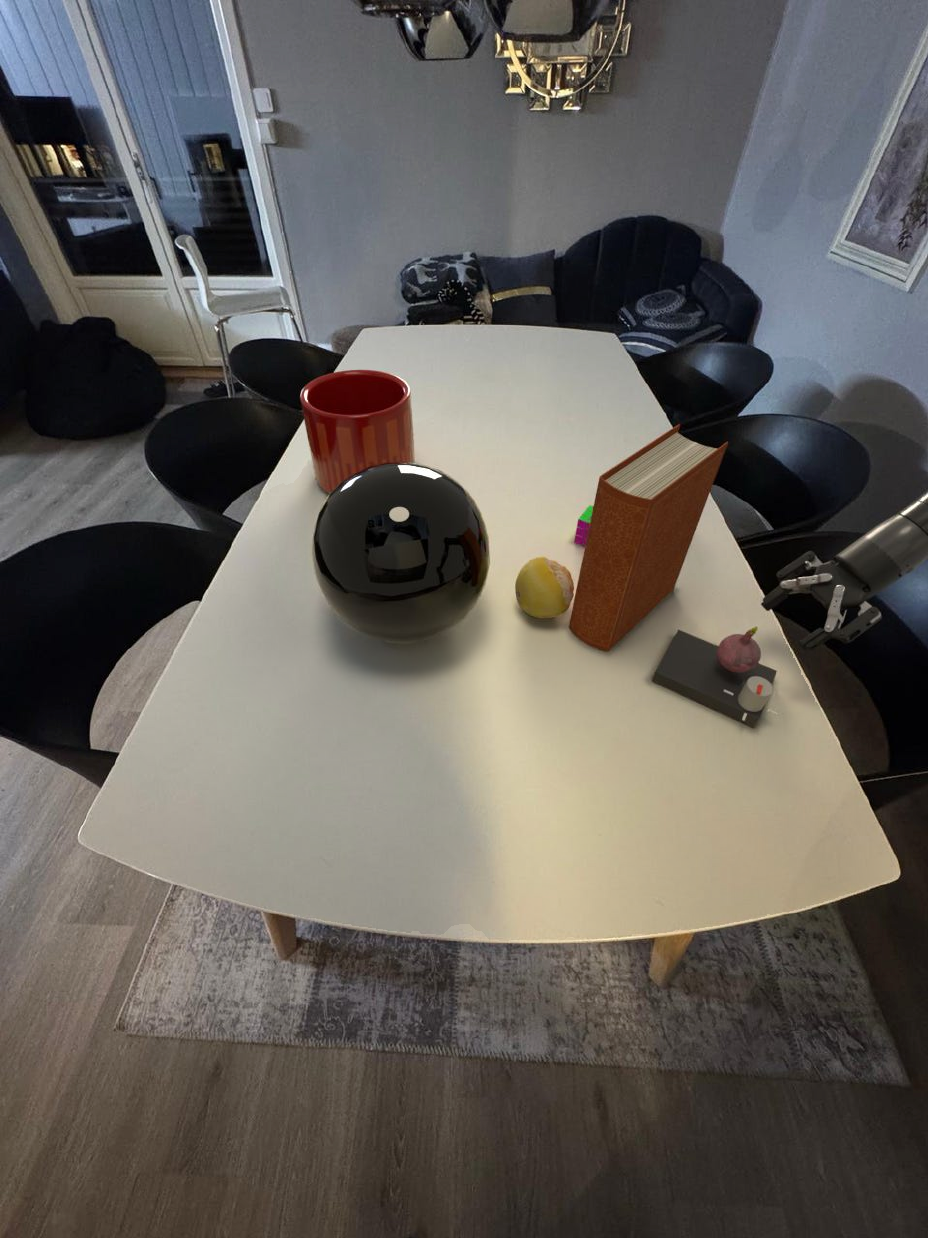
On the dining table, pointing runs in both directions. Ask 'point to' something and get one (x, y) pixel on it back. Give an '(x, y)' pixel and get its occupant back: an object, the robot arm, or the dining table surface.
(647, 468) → the book
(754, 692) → the burner knob
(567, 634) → the dining table surface
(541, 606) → the fruit
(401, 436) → the planter
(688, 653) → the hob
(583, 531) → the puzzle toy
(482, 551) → the ball
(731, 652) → the vegetable
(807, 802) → the dining table surface
